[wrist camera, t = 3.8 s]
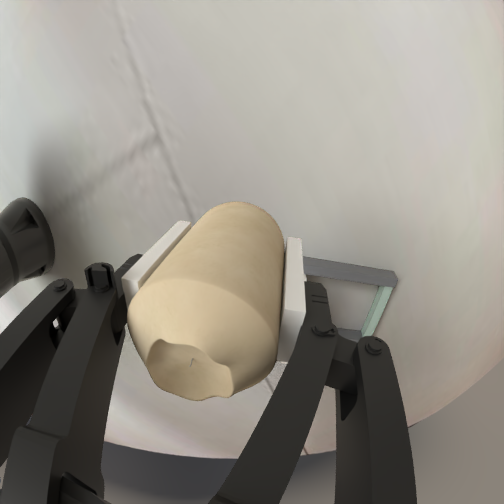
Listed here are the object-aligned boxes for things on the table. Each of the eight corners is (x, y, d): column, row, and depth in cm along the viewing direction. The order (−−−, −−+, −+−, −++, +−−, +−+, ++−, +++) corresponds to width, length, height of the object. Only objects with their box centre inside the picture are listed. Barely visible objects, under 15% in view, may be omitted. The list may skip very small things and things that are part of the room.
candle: (219, 182, 15) (125, 270, 6) (303, 231, 16) (313, 369, 7) (181, 256, 18) (100, 372, 9) (255, 297, 18) (225, 434, 9)
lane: (217, 316, 39) (199, 361, 31) (221, 243, 34) (198, 282, 26) (365, 337, 37) (376, 384, 29) (393, 271, 32) (417, 314, 24)
